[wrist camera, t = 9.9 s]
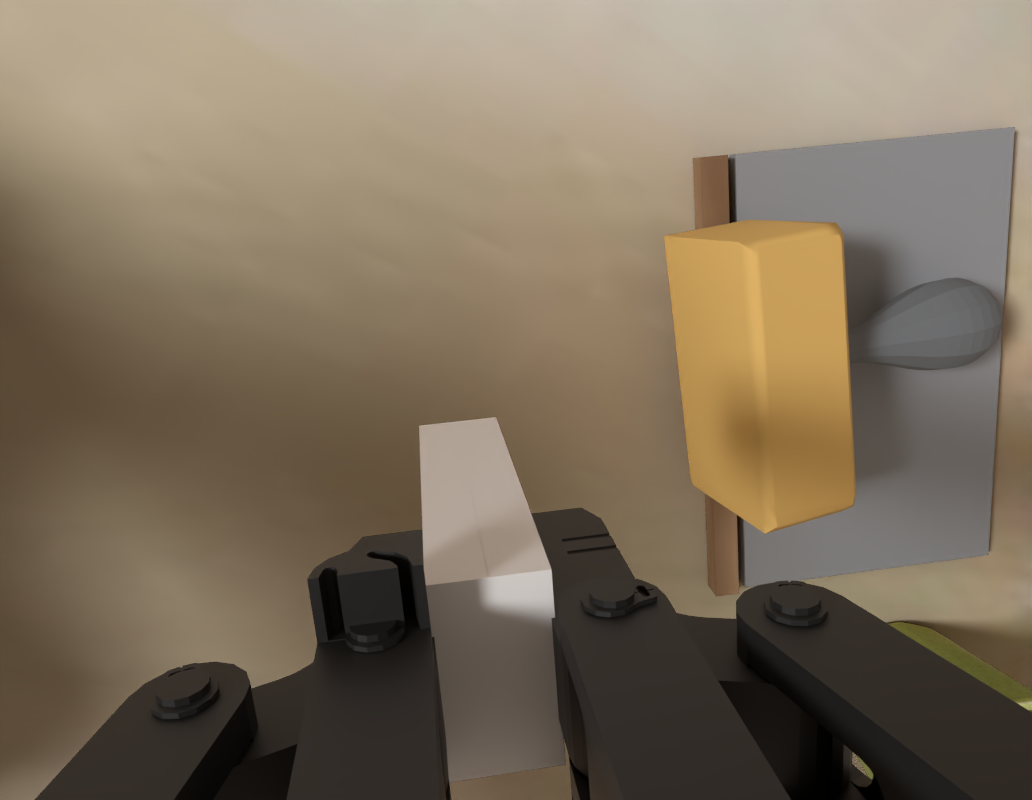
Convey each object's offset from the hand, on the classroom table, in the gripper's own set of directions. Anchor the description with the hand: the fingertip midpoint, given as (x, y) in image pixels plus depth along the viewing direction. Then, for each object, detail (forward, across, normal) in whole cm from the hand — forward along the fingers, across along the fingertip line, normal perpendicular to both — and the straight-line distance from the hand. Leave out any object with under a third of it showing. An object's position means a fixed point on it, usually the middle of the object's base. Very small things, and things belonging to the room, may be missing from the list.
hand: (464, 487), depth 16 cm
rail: (+16, +11, -3) cm, 20 cm away
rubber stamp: (+12, +9, -2) cm, 15 cm away
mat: (+16, +17, -3) cm, 24 cm away
